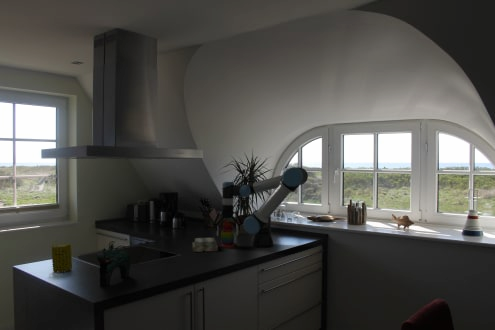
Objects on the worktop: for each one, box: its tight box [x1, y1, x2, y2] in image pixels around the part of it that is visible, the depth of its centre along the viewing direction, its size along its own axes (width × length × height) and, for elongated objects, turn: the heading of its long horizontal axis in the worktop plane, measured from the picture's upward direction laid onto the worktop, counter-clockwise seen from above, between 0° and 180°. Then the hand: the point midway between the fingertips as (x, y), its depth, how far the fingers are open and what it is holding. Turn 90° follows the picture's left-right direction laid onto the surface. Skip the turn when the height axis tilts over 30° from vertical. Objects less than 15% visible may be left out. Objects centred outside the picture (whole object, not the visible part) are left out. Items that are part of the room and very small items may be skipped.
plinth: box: [192, 237, 219, 253], centre depth 261 cm, size 16×16×6 cm
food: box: [51, 243, 73, 273], centre depth 209 cm, size 15×12×10 cm
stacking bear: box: [220, 219, 237, 249], centre depth 267 cm, size 11×10×18 cm
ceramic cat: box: [97, 240, 131, 287], centre depth 190 cm, size 20×6×20 cm, turn 158°
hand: (227, 235), depth 267 cm, fingers open, 13 cm apart
